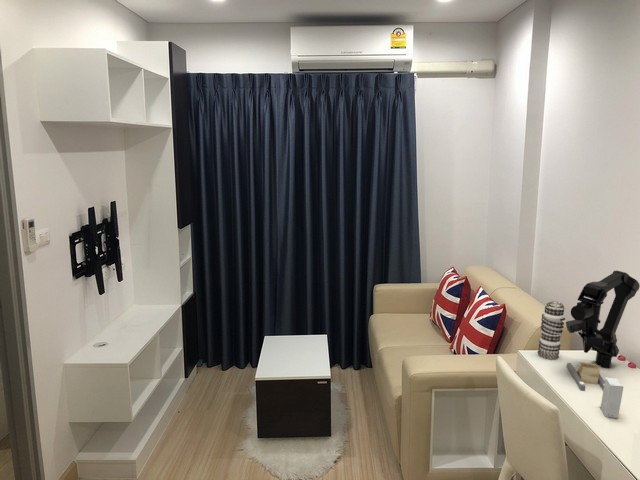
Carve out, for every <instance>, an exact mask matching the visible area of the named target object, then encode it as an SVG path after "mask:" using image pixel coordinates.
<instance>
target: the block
mask: <svg viewBox="0 0 640 480" xmlns="http://www.w3.org/2000/svg"><path fill="white" fill-rule="evenodd" d="M577 370H578V371H577V373H578V375H579V377H580V378H581V380H582V381H583V382H584V384H593V385H599V384H598V378H599V374H600V371H601V370H600V368H599V366H598V365H597V364H596V363H590V362H589V363H588V362H582V361H581V362H579V363H578V368H577Z"/></svg>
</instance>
